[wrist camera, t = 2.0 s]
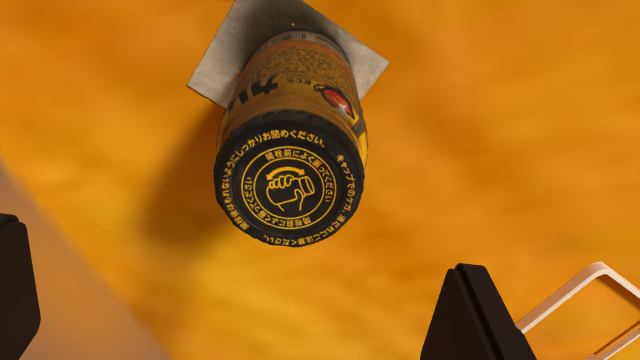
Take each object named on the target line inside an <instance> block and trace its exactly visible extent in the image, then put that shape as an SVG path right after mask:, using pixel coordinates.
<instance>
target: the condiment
mask: <svg viewBox="0 0 640 360" xmlns="http://www.w3.org/2000/svg"><path fill="white" fill-rule="evenodd" d="M292 23H294V26H293V25H292ZM388 64H389V62H388V61H387V60H385V59H384V58H383V57H381V56H380V55H378V54H377V53H376V52H374V51H373V50H371V49H370V48H369V47H367V46H366V45H364V44H363V43H362V42H360V41H359V40H357V39H356V38H354V37H353V36H352V35H350V34H349V33H348V32H346V31H345V30H344V29H342V28H341V27H339V26H338V25H336V24H335V23H333V22H332V21H331V20H329V19H328V18H326V17H325V16H324V15H322V14H321V13H319V12H318V11H316V10H315V9H313V8H312V7H310V6H309V5H307V4H306V3H305V2H304V1H302V0H235V2H234V4H233V6H232V7H231V9H230V11H229V12H228V14H227V16H226V18H225V20H224V21H223V23H222V25H221V27H220V28H219V30H218V32H217V34H216V35H215V38H214V39H213V41H212V42H211V44H210V46H209V48H208V50H207V51H206V53H205V55H204V56H203V58H202V60H201V62H200V64H199V65H198V67H197V69H196V70H195V72H194V74H193V76H192V78H191V79H190V81H189V83H188V86H189V87H191V88H193V89H194V90H196V91H197V92H199V93H201V94H202V95H204V96H206V97H208V98H209V99H211V100H213V101H214V102H215V103H217V104H218V105H220V106H222V107H224V108H226V110H225V111H224V114H223V118H222V121H221V123H220V127H219V130H218V137H217V153H218V154H217V157H216V163H215V165H214V171H213V172H214V185H215V194H216V199H217V202H218V203H219V205H220V206H221V207H222V209H223V210H224V211H225V213H226V215H227V216H228V217H229V218H230V220H231V221H232V223H233V224H234V225H235V226H236V227H237V228H239V229H240V230H241V231H243V232H244V233H246V234H248V235H250V236H251V237H253V238H255V239H258V240H260V241H262V242H264V243H267V244H269V245H280V246H289V247H303V246H306V245H310V244H314V243H316V242H319V241H321V240H324V239H326V238H328V237H330V236H332V235H333V234H334V233H336V232H337V231H338V230H339V229H340V228H341V227H342V226H343V225H344V224H345V223H346V222H347V221H348V220H349V219H350V218H351V217H352V216H353V215H354V213H355V211H356V210H357V208H358V205H359V202H360V199H361V195H362V192H363V189H364V186H363V184H364V178H365V175H364V169H365V166H366V161H367V150H368V141H367V129H366V123H365V121H364V119H363V110H362V108H361V106H360V100H361V99H362V98H363V96H364V95H365V94H366V92H367V91H368V90H369V89H370V87H371V86H372V85H373V84H374V82H375V81H376V80H377V78H378V77H379V76H380V74H381V73H382V72H383V70H384V69H385V68H386V66H387V65H388ZM237 69H239V70H240V72H241V75H238V73H237Z"/></svg>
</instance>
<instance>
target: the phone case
mask: <svg viewBox="0 0 640 360" xmlns="http://www.w3.org/2000/svg"><path fill="white" fill-rule="evenodd" d="M603 274H607V275H609V276H610V277H612V278H613V279H614V280H616V281H617V282H618V283H620V284H621V285H622V286H624V287H625V288H626V289H628V290H629V291H631V292H632V293H633V294H635V295H636V296H637V297H639V298H640V290H639V289H638V288H636V287H635V286H634V285H632V284H631V283H630V282H628V281H627V280H626V279H624V278H623V277H621V276H620V275H619V274H617V273H616V272H615V271H613V270H612V269H611V268H609V267H608V266H607V265H605V264H604V263H603V262H596V263H593V264H591V265H589V266H588V267H586V268H585V269H584V270H582V271H581V272H580V273H579V274H577V275H576V276H575V277H574V278H572V279H571V280H570V281H569V282H567V283H566V284H565V285H564V286H562V287H561V288H560V289H559V290H557V291H556V292H555V293H554V294H552V295H551V296H550V297H549V298H547V299H546V300H545V301H544V302H542V303H541V304H540V305H539V306H537V307H536V308H535V309H534V310H532V311H531V312H530V313H529V314H527V315H526V316H525V317H524V318H523V319H521V320H520V321H519V322H518V323H516V324H515V326H516V327H517V328H518V329H520V330H521V332H522V333H523V334H524V333H525V332H526V331H528V330H529V329H530V328H532V327H533V326H534V325H535V324H537V323H538V322H539V321H540V320H542V319H543V318H544V317H545V316H547V315H548V314H549V313H551V312H552V311H553V310H554V309H556V308H557V307H558V306H559V305H561V304H562V303H563V302H564V301H566V300H567V299H568V298H570V297H571V296H572V295H573V294H575V293H576V292H577V291H578V290H580V289H581V288H582V287H584V286H585V285H586V284H587V283H589V282H590V281H591V280H593V279H594V278H596V277H598V276H600V275H603ZM639 321H640V320H639ZM639 336H640V327H639V328H638V329H636V330H635V331H634V332H632V333H631V334H629V335H628V336H627V337H625V338H624V339H622V340H621V341H620V342H618V343H617V344H615V345H614V346H613V347H611V348H610V349H608V350H607V351H605V352H604V353H603V354H601V355H600V356H598V357H596V355H594V354H592V355H590V356H589V357H587V358H586V359H585V360H606V359H608V358H609V357H611V356H612V355H614V354H615V353H616V352H618V351H619V350H621V349H622V348H624V347H625V346H626V345H628V344H629V343H631V342H632V341H633V340H635V339H636V338H638V337H639Z"/></svg>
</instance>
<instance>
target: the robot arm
mask: <svg viewBox="0 0 640 360" xmlns="http://www.w3.org/2000/svg"><path fill="white" fill-rule="evenodd" d="M40 320H41V318H40V310H39V304H38V298H37V291H36V285H35V278H34V272H33V266H32V259H31V253H30V247H29V241H28V234H27V228H26V225H25V224H24V223H22V222H19V220H18V218H17V217H16V216H15V215H11V214H2V213H0V360H19V358H20V357H21V355H22V354H23V352H24V351H25V350H26V348H27V347H28V345H29V344H30V342H31V341H32V339H33V338H34V336H35V335H36V333H37V331H38V329H39V326H40ZM420 360H537V359H536V357H535V355H534V353H533V351H532V349H531V347H530V346H529V344H528V342H527V340H526V338H525V336H524V334H523V333H522V332H521V330H520V329H518V328H517V327H516V326H515V324H514V322H513V320H512V318H511V316H510V314H509V312H508V310H507V308H506V306H505V304H504V302H503V300H502V298H501V296H500V295H499V293H498V291H497V289H496V287H495V285H494V283H493V281H492V279H491V277H490V275H489V273H488V271H487V269H486V268H485V267H484V266H481V265H472V264H463V263H459V264H457V265H456V267H455V269H449V270H448V271H447V273H446V276H445V279H444V283H443V286H442V289H441V292H440V295H439V298H438V301H437V304H436V307H435V311H434V314H433V317H432V320H431V323H430V326H429V329H428V332H427V336H426V339H425V342H424V345H423V348H422V351H421V356H420Z"/></svg>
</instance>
